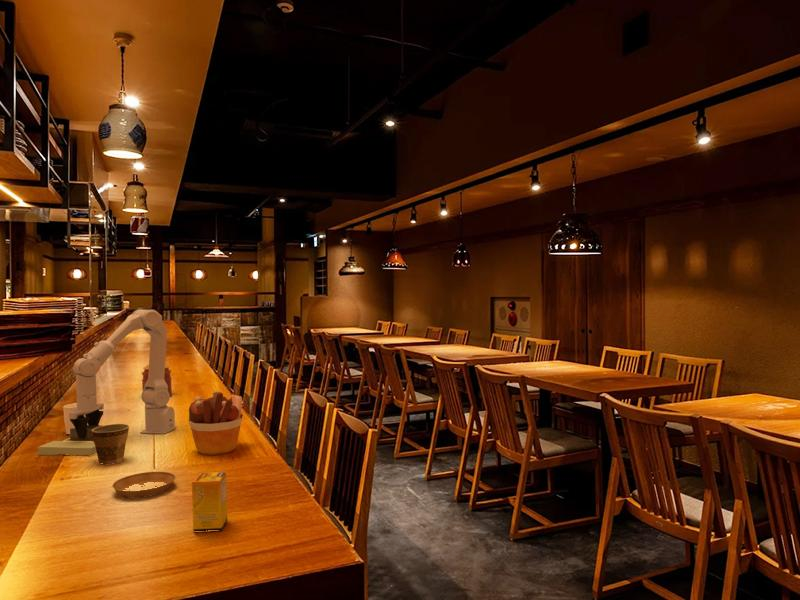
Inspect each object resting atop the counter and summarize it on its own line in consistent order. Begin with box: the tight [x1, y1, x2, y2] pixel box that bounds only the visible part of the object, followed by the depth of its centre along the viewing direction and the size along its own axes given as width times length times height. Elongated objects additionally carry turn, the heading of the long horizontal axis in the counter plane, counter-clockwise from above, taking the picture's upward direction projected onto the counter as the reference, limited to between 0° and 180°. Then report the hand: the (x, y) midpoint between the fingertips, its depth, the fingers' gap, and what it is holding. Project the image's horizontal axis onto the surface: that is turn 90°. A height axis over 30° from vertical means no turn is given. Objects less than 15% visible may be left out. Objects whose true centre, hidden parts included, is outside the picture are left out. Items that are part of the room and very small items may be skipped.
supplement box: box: [191, 471, 228, 532], centre depth 122 cm, size 6×6×11 cm
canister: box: [141, 363, 173, 397], centre depth 267 cm, size 13×13×18 cm
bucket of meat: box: [188, 390, 243, 456], centre depth 178 cm, size 20×16×20 cm
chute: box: [69, 424, 104, 441], centre depth 186 cm, size 8×5×5 cm, turn 83°
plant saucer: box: [111, 471, 177, 498], centre depth 145 cm, size 15×15×3 cm
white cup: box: [62, 402, 88, 435], centre depth 203 cm, size 8×8×10 cm
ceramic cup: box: [90, 423, 130, 465], centre depth 169 cm, size 13×10×10 cm
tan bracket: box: [37, 437, 97, 456], centre depth 182 cm, size 18×13×3 cm
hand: (87, 435), depth 186 cm, fingers closed on chute, 5 cm apart
